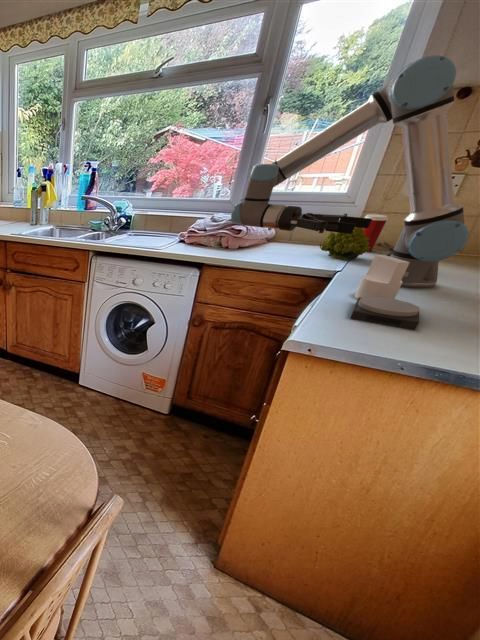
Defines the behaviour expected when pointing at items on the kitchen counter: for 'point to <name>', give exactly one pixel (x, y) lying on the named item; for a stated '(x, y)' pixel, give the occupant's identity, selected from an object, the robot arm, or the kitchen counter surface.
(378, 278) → the white stepped block
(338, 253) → the vegetable
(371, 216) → the paper cup
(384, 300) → the kitchen scale
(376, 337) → the kitchen counter surface
